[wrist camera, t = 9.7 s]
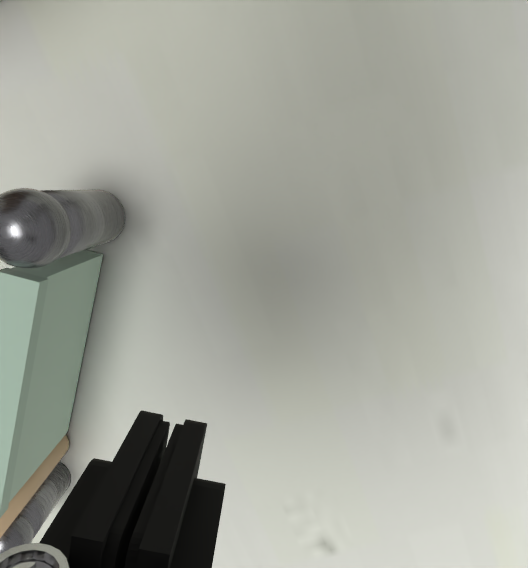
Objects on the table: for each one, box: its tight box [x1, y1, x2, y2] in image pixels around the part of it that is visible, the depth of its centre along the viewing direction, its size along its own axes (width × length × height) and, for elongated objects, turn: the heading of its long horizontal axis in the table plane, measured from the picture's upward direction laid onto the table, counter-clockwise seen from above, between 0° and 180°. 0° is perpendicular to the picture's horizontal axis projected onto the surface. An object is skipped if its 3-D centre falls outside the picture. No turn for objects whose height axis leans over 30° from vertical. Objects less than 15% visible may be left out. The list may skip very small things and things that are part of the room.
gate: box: [0, 250, 103, 538], centre depth 24 cm, size 14×2×8 cm, turn 165°
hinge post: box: [0, 188, 125, 268], centre depth 22 cm, size 3×3×10 cm
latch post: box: [0, 462, 71, 554], centre depth 26 cm, size 7×4×7 cm, turn 166°
